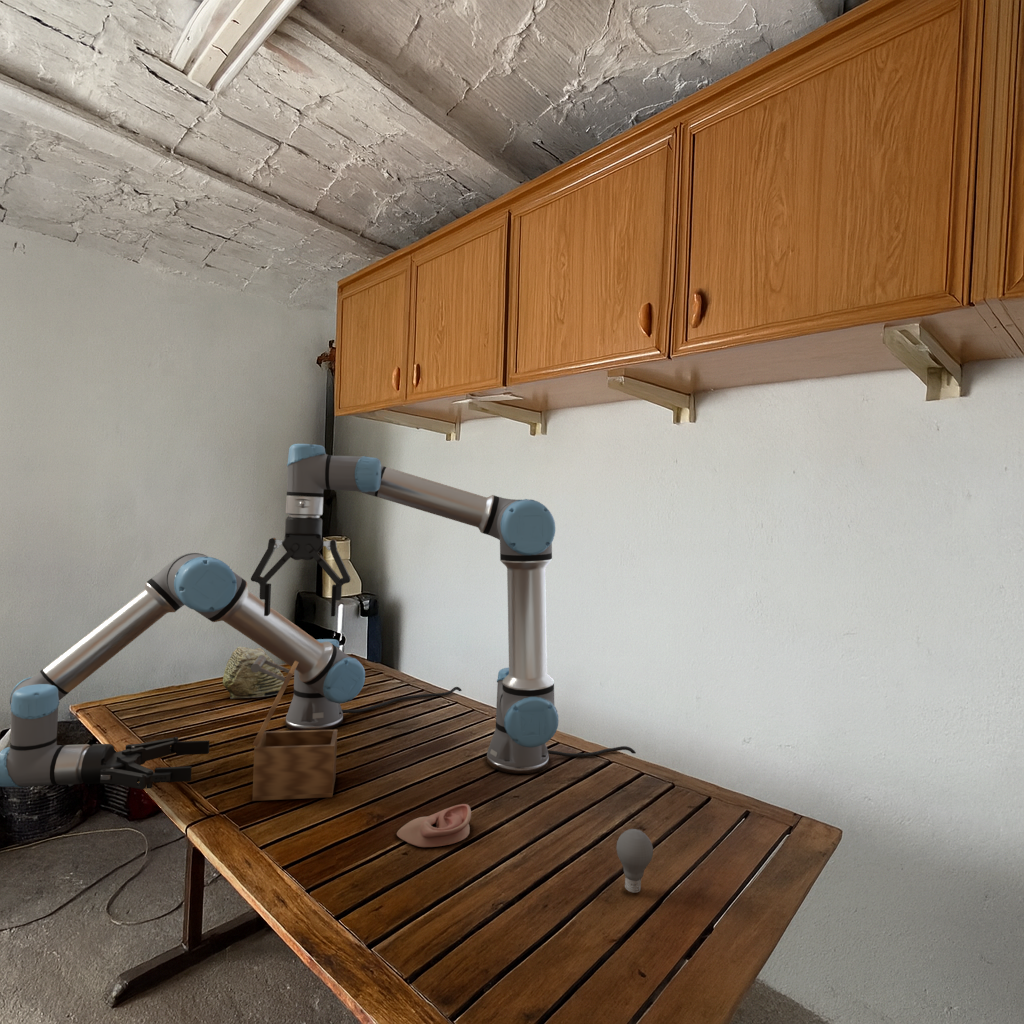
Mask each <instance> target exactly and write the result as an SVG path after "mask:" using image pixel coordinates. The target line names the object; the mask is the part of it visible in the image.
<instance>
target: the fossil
mask: <svg viewBox="0 0 1024 1024" xmlns="http://www.w3.org/2000/svg"><path fill="white" fill-rule="evenodd" d="M261 655H263V656H265V657H266V660H268V661H270V662H273V663H275V662H274V660H273V659H272V658H271V657H270V656H269V655H268V654H267V653H266V652H265V649H264V648H262V647H261V648H260V647H258V648H251V647H247V646H246V647H245V646H238V647H237V648H236V649H235V650H233V651H232V653H231V656H230V657H229V659H228V660H227V663H226V666H225V668H224V671H223V675H222V676H223V677H222V685H223V687H224V688H225V690H226V691H228V693H229V698H230V699H250V698H264V697H271V696H275V695H276V696H277V695H278V693H279V691H280V689H281V687H282V685H283V683H284V681H282V680H280V679H277V678H275V677H272V676H270V675H267V674H265V673H262V672H260V671H258V672H256V673H255V672H252V670H251V666H252V665H253V663H254V662H255V661H256V659H257V658H258V657H259V656H261ZM262 668H264V669H266V670H269V671H271V672H274V673H276V674H278V675H281V676H283V677H285V676H284V674H283V673H282V672H281V670H279V669H277V668H274V667H272V666H269V665H267V664H265V663H264V665H263V666H262ZM286 689H287V688H286ZM286 689H285V691H286Z"/></svg>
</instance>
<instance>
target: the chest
mask: <svg viewBox="0 0 1024 1024" xmlns="http://www.w3.org/2000/svg"><path fill="white" fill-rule="evenodd" d="M253 749H254V750H253V774H252V775H253V776H252V777H253V779H252V802H259V801H261V802H263V801H280V800H301V799H304V800H305V799H319V798H320V799H322V798H324V799H325V798H333V794H334V788H335V784H336V783H335V782H336V777H337V776H336V774H337V755H338V754H337V749H338V729H337V728H336V729H335V728H333V729H329V730H298V731H295V730H271V731H269V730H267V731H266V730H265V731H264V733H263V735H262V737H261V739H260V741H259V743H258V745H257V747H256V746H254V748H253Z"/></svg>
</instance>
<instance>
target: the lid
mask: <svg viewBox="0 0 1024 1024" xmlns="http://www.w3.org/2000/svg"><path fill="white" fill-rule="evenodd" d="M264 663H265V664H267V665H269V666H272V667H274V668H277V669H279V670H280V671H282V672H284V673H287V675H286V676H284V675H283V676H284V677H283V676H281V675H278V674H276V673H274V672H271V671H269V670H266V669H264V668H262V666H263V665H264ZM298 663H299V662H297V661H294V663H293V665H292V667H291V666H290V669H289V668H287V667H285V666H283V665H280V664H278V663H275V662H274V663H273V662H270V661H268V660H266V657H265V656H263V655H261V656H259V657H258V658H257V659H256V661H255V662H254V663H253V665H252V666H251V670H252V672H255V673H256V672H258V671H260V672H262V673H265V674H267V675H270V676H272V677H275V678H277V679H280V680H282V681H284V683H283V685H282V687H281V689H280V691H279V693H278V694H276V697H275V699H274V701H273V703H272V705H271V707H270V708H269V711H268V712H267V715H266V717H265V718H264V721H263V723H262V725H261V727H260V729H259V731H258V732H257V734H256V736H255V739H254V740H253V743H252V746H253V747H257V745H258V743H259V741H260V739H261V737H262V735H263V733H264V731H266V729H267V727H268V725H269V723H270V721H271V719H272V717H273V715H274V714H275V711H276V709H277V707H278V706H279V703H280V701H281V699H282V697H283V696H284V693H285V691H286V690H285V689H287V687H288V685H289V683H290V681H291V679H292V678H293V676H294V671H295V669H296V667H297V665H298Z"/></svg>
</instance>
